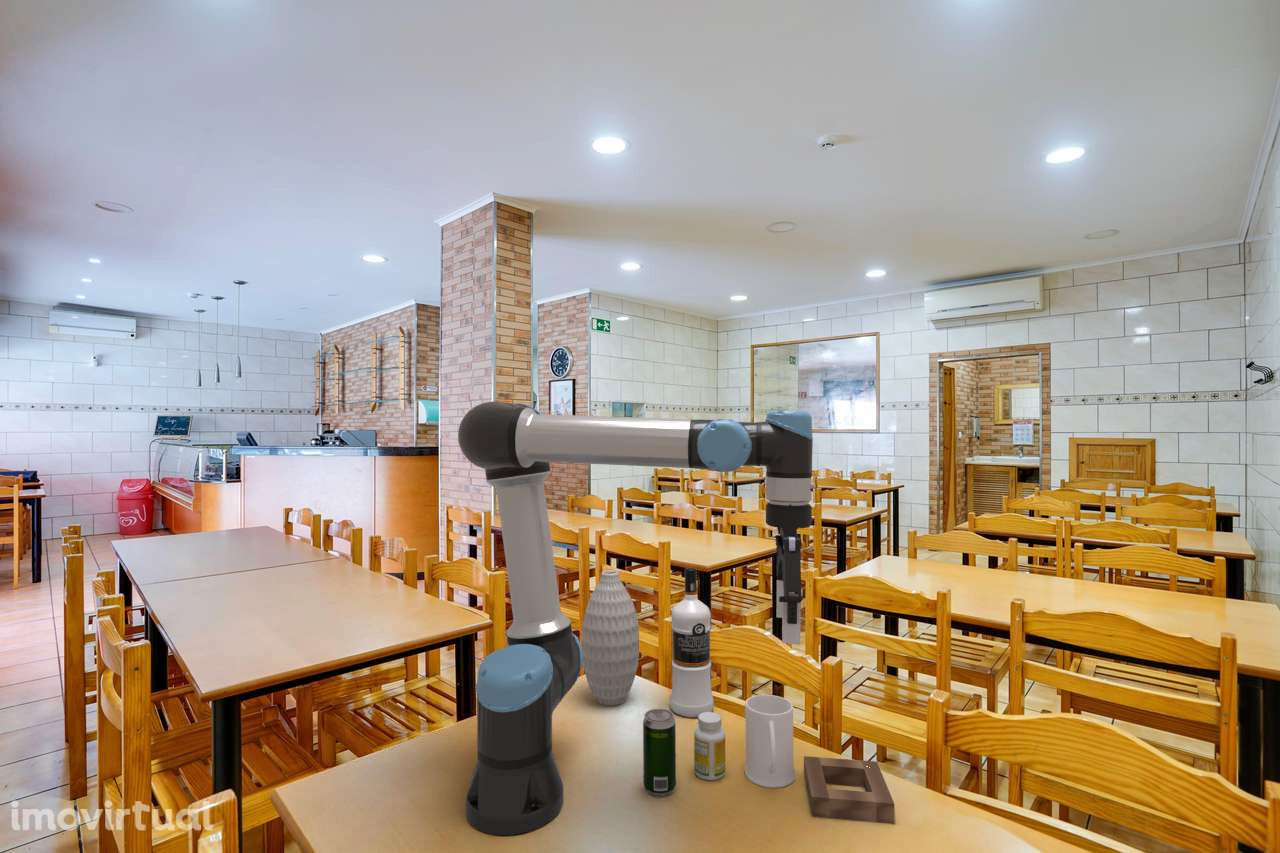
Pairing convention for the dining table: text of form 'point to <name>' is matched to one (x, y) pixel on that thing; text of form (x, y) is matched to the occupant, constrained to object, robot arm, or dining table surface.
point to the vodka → (691, 653)
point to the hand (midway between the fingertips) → (787, 629)
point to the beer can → (659, 752)
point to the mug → (769, 741)
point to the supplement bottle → (709, 747)
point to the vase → (610, 640)
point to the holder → (846, 802)
